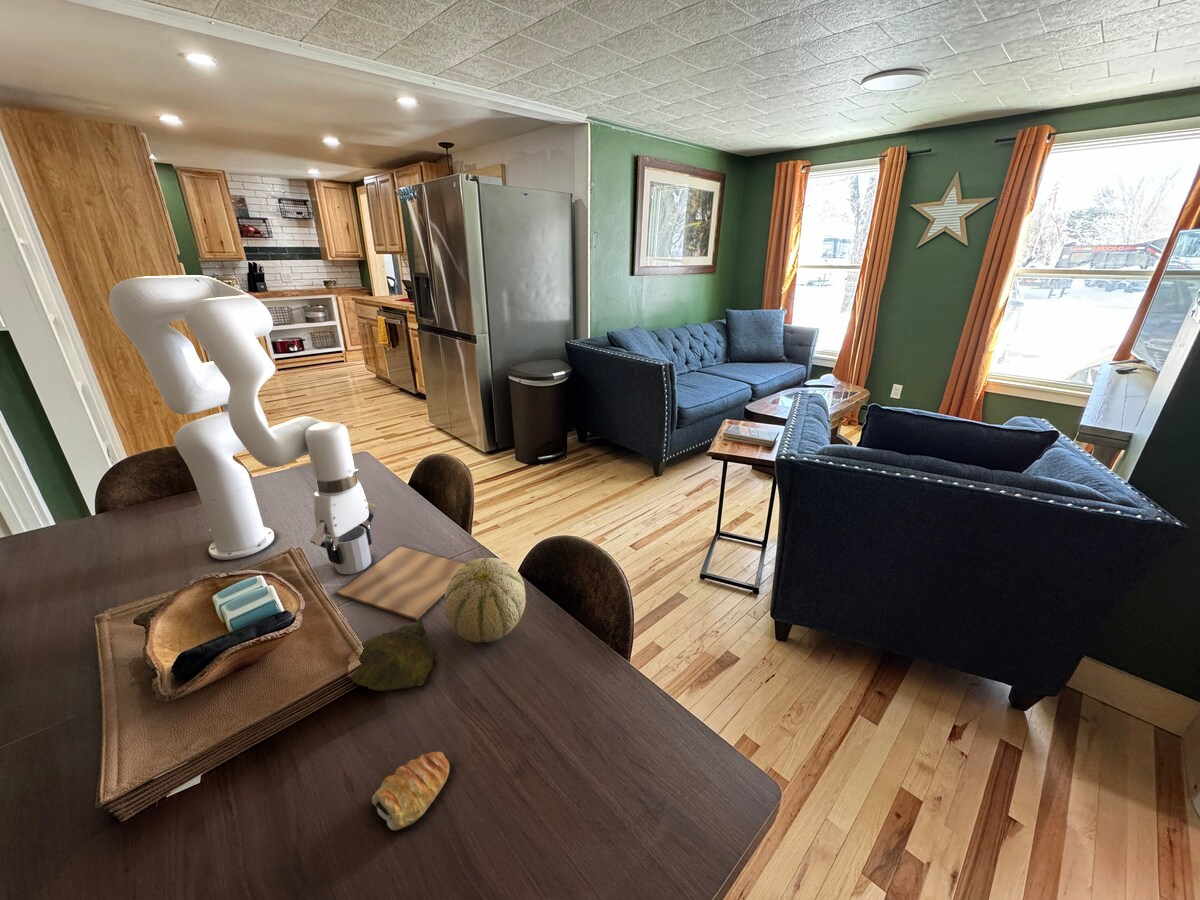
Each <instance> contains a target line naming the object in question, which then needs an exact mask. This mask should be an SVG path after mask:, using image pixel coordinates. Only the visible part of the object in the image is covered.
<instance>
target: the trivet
mask: <svg viewBox="0 0 1200 900" xmlns="http://www.w3.org/2000/svg"><path fill="white" fill-rule="evenodd" d="M465 564H466V563H463V562H460V561H457V560H452V559H448V558H445V557H442V556H438V555H434V554H431V553H427V552H423V551H419V550H415V549H412V548H408V547H405V546H402V545H399V546H398V547H397V548H396V549H394V550H393V551H391V552H390V553H389V554H387V555H386V556H384V557H383V558H382V559H381V560H379V561H378V562H376V563H375V564H374V565H371V567H369V568H368V569H367V570H366V571H364V572H363V573H361V574H360V575H359V576H358V577H355V578H354V579H353V580H352V581H351V582H349V583H347V584H346V585H345V586H344V587H343V588H341V589H340V590H338V591H337V595H339V596H342V597H345V598H347V599H351V600H353V601H357V602H360V603H363V604H365V605H369V606H371V607H375V608H378V609H381V610H384V611H388V612H390V613H394V614H396V615H400V616H402V617H406V618H408V619H412V620H414V621H419V619H420V618H421V617H422V616H423V615H424V614H425V613H426V612H427V611H428V610H429V609H430V608H432V607H433V606H434V605H435V604H436V603H437V601H438V600H440V599H441V598H442V597H443V596H445V593H446V589H447V586H448V584H449V583H450V581H451V579H452V578H453V576H454V575H455V574H456V572H457V571H458V570H459V569H460V568H461V567H463V566H464V565H465Z"/></svg>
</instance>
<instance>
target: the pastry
mask: <svg viewBox="0 0 1200 900" xmlns="http://www.w3.org/2000/svg"><path fill="white" fill-rule="evenodd" d="M449 774H450V762H449V760H448V759H447V758H446V757H445V754H444V753H443V752H442V751H432V752H430V753H426V754H419V756H418V757H417V758H415V759H410V760H409V761H407V763H406V764H403V765H401V766H399V767H398V768H396V770H395V771H394V773H393V774H392V775H387V776H386V777H384V779H383V781H382V782H381V785H380V787H379V788H378V789H377V790H376V791H375V793H374V794H373V795H372V797H371V803H372V805H374V807H375V808H376V812H377V814H378V815H379V817H381V818H382V819H383V820H385V821H386V825H387V827H388V828H389V829H390V830H391V831H399V830H402V829H404V828H406V827H408V826H409V827H410V826H411V825H413V824H414V823H416V822H417V821H418V820H419V819H420V818H421V817H422V816H423V815H424V814H425V813H426V811H427V810H428V809H429V808H430V806H431V804H433V802H434V800H435V799H436V797H437V796H438V794H439V793H440V791H442V788H443V787H444V785H445V784H446V782H447V780H448V777H449Z"/></svg>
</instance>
